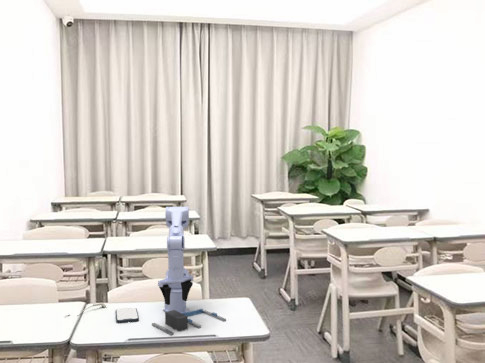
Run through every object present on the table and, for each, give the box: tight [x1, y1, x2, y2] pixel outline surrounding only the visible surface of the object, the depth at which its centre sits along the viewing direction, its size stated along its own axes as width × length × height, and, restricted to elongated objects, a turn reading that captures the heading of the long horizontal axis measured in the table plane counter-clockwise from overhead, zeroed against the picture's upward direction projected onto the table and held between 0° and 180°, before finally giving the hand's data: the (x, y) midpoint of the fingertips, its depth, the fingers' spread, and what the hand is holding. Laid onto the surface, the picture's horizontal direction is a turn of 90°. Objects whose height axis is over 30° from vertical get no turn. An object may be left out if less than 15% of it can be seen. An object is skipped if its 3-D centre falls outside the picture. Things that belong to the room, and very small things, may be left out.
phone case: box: [115, 307, 140, 324], centre depth 202 cm, size 9×2×16 cm
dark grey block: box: [164, 310, 189, 332], centre depth 190 cm, size 10×4×5 cm, turn 38°
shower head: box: [81, 302, 107, 313], centre depth 207 cm, size 5×3×20 cm
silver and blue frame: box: [151, 308, 227, 337], centre depth 194 cm, size 15×25×2 cm, turn 130°
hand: (176, 302), depth 190 cm, fingers open, 7 cm apart
